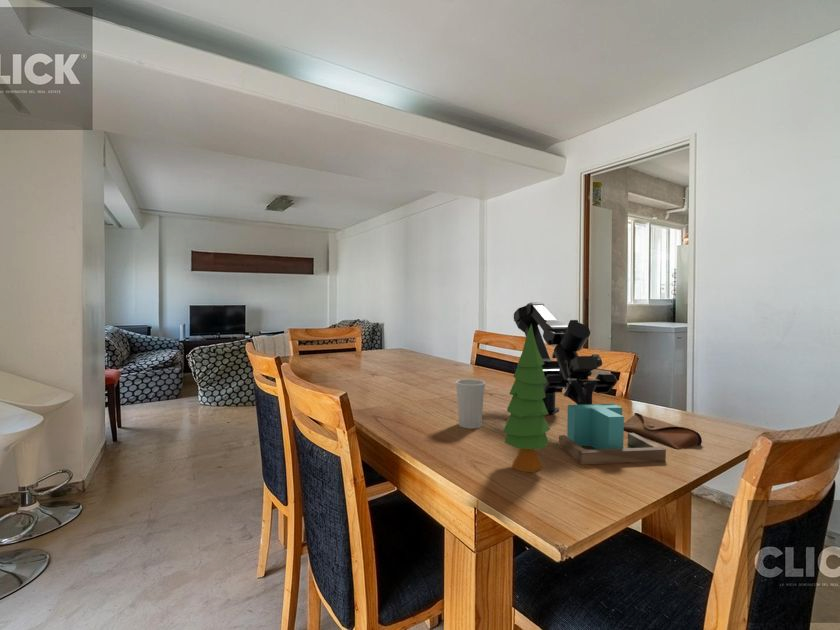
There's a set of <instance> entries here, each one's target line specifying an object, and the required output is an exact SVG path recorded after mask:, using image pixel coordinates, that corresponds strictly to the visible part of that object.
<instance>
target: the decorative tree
mask: <svg viewBox="0 0 840 630" xmlns="http://www.w3.org/2000/svg"><path fill="white" fill-rule="evenodd" d="M543 364H544V362H543V360H542V357H541V355H540V353H539V351H538V348H537V344H536V341H535V338H534V334H533V328H532V323H531V326H530V328H529V331H528V333H527V336H526V335H525V341H524V346H523V348H522V351H521V354H520V357H519V360H518V362H517V365H516V369H515V372H514V373H513V378H514V379H515V380H514V382H513V384H512V387H511V388H510V390H509V395H510V396H512V397H511V399H510V402H509V404H508V406H507V408H506V412H507V413H509V414H510V415H509V417H508V418H507V421H506V424H505V425H504V428H503V431H502V434H506V436H505V440H504V444H508V445H509V446H512V447H514V448H517V449H518V453H517V455H516V456H515V458H514V459H513V461H512V467H511V468H512V469H515V470H517V471H520V472H526V473H536V472H538V471H540V470H542V469H544V467H543V465H542V463H541V460H540V458H539V456H538V454H537V452H536V451H537V450H542V449H544V448H545V447H547V446H549V445H550V442H549V440H548V436H547V432H548V431H551V428H550V426H549V424H548V422H547V420H546V418H545V416H546V415H549V414H548V411H547V409H546V406H545V404H544V402H543V398H545V397H546V396H545V392H544V387H543V383H546V379H545V375H544V372H543V368H542V365H543Z"/></svg>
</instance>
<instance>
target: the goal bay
mask: <svg viewBox="0 0 840 630" xmlns="http://www.w3.org/2000/svg"><path fill="white" fill-rule="evenodd" d="M627 444H628V445H630V446H632V447H629V448H627V447H625V448H624V447H623V448H622V449H585V448H584V447H583V446H579V445H578V444H576V443H575V442H574V441H572V440H571V439H570V438H568V437H567V435H565V434H564V435H563V434H561V435H558V446H559V447H560V448H561V449H562V450H563V451H564V452H566V453H567V454H569V456H571V457H572V458H573V459H575V460H576V461H577V462H578V463H579V464H581V465H583V466H584V465H598V464H599V465H601V464H602V465H604V464H605V465H606V464H623V463H624V464H626V463H625V462H630V463H649V462H651V461H653V462H666V459H667V457H666V453H667V450H666V449H665V447H662V446H661V445H660V446H659V445H658V444H656V443H654V442H653V441H651V440H649V439H647V438H646V437H643V436H640V435H637V434H635V433H631V432H627Z"/></svg>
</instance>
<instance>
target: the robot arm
mask: <svg viewBox="0 0 840 630" xmlns="http://www.w3.org/2000/svg"><path fill="white" fill-rule="evenodd" d="M513 321H514V322H515V325H516V326H517V328H518V329H519V330H520V331H522V332H523V333H524V334H525V335H524V336H525V337H526V336H527V333H528V331H529V328H530V326H531V323H532V328H533V334H534V338H535V341H536V344H537V348H538V351H539V353H540V355H541V357H542V360H543V362H544V364H543V365H542V368H543V372H544V375H545V379H546V383H543V387H544V392H545V396H546V397H545V398H543V402H544V404H545V406H546V409H547V411H548V414H547V415H554V414H555V413H558V412H559V411H560V408H558V407H556V394H557V393H563V389H564V391H565V392H564V393H563V396H564V397H566V398H569V399H570V400H571V401H573V402H574V403H575V405H584V404H593V393H594V392H595V393H596V394H608V393H610V392H611V390H612V389H613V388H614V387H615V386H616V384H617V383H618V379H617V378H616V376H615V374H614V373H598V374H597V376H596V377H595V378H589V377H591V375H592V372H593V370H597V369H598V368H600V367H601V366H602V365H603V362H602V360H603V359H602V358H601V357H600V355H599V354H598V353H597V354H591V355H579V354H578V352H579V351H581V350H582V349H583V347H584V345H585V343H586V342H587V340H588V339H589V337H590V335H591V330H590V328H589V327H588V326H586V325H585V324H583V323H580V322H579V321H578V319H570V320H569V322H568V324H567V323H565V322H563V321H559V320H557V319H556V318H555V317H554V316H553V314H551V313H550V311H549V310H548V309H547V308H546V307H545V304H544V303H543V302H529V303H527V304H526V305H524V306H521V307H518V308H517V309H516V310H515V311H514V313H513ZM539 327H540V328H539ZM540 329H542V331H543V333H542V334H541V331H540ZM546 344H547V345H548V346H555V347H554V349H553V352H552V356H551V357H552V359H556V360H551V357H550V355H549V352H548V349H547V347H546Z"/></svg>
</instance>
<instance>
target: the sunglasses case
mask: <svg viewBox="0 0 840 630" xmlns="http://www.w3.org/2000/svg"><path fill="white" fill-rule="evenodd" d="M625 430H626V431H625ZM624 431H625V432H628V431H629V432H628V433H631V432H632V433H635V434H637V435H639V436H641V437H643V438H645V439H648V438H649V439H648V440H650V441H653V442H657V443H659V442H660V444H662V443H663V444H662V445H665V446H668V447H671V448H672V447H673V449H676V450H679V449H680V450H682V449H683V450H684V449H687V448H693V447H698V446H700V447H701V446H702V442H703V440H702V439H703V438H702V436H701V435H700V433H699V432H698V431H696V430H693V429H691V428H689V427H684V426H683V427H682V426H678V425H676V424H672V423H669V422H666V421H662V420H660V419H656V418H653V417H649V416H645V415H643V414H641V413H638V412H634V415H632V416H631V417H629V419H627V420H626V421H624Z"/></svg>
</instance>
